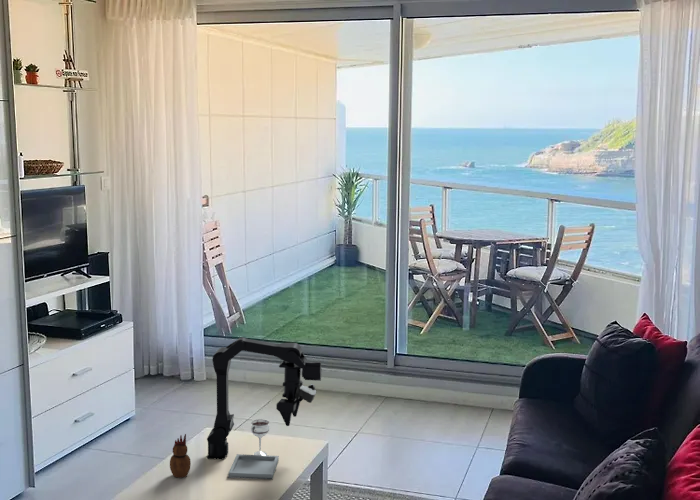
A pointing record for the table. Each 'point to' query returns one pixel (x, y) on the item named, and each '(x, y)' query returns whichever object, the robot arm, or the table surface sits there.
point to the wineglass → (260, 432)
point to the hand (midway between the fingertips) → (291, 421)
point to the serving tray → (253, 466)
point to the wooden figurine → (180, 459)
